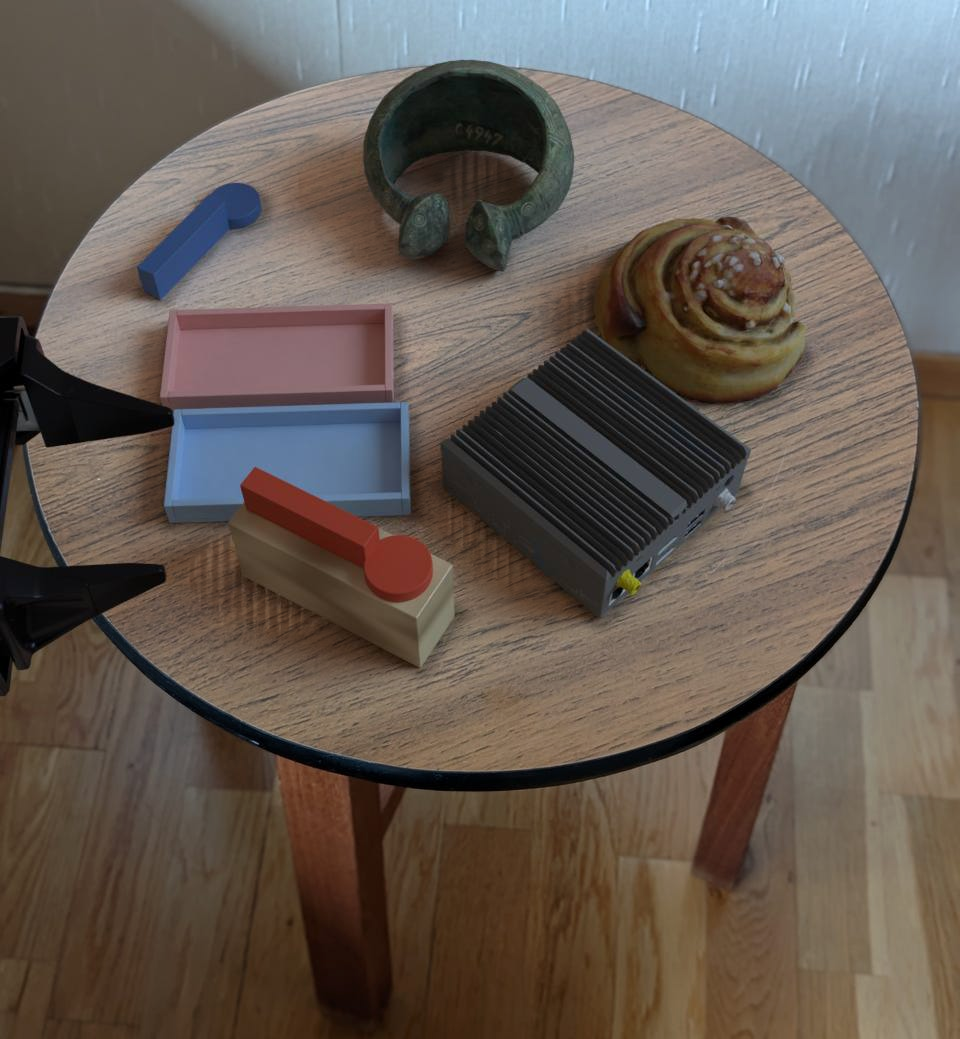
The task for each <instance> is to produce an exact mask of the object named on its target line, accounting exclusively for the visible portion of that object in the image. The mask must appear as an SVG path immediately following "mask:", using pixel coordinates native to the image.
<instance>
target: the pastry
mask: <svg viewBox="0 0 960 1039" xmlns="http://www.w3.org/2000/svg"><path fill="white" fill-rule="evenodd" d="M785 258H786V257H784V256H783V255H781V254H780V253H778V252H775V250H774V249H773V248H772V247H771V245H770V244H769V243H768V242H767V241H765V240H764V239H763V238H761V237H760V236H759V235H758V234H756V232H755V231H754V230H753V229H752V227H751V226H750V225H749V224H748V222H747V220H744V219H742V218H739V217H735V216H721V217H719V218H718V219H716V220H715V221H714V220H711V219H707V218H676V219H673V220H668V221H665V222H662V223H659V224H656V225H653V226H650V227H648V228H646V229H643V230H641V231H640V232H638V233H637V234H636V235H635V236H634V237H633V238H631V240H629V241H628V242H627V243H626V244H624V245H623V246H621V247H620V248H619V249H618V250H617V251H616V253H614V255H612V257H611V258H609V260H608V261H607V263H606V265H605V266H604V268H603V270H602V272H601V273H600V275H599V277H598V280H597V283H596V285H595V288H594V292H593V301H592V302H593V303H592V304H593V314H594V317H595V321H596V325H597V328H598V331H599V333H600V336H601V337H600V338H601V339H602V340H604V341H605V342H606V343H608V344H609V345H610V346H612V347H613V348H614V349H616V350H617V351H618V352H620V353H621V354H623V355H624V356H625V357H627V358H628V359H629V360H631V361H632V362H636V363H639V364H641V365H642V366H643V367H644V368H645V369H646V370H647V371H649V372H650V374H651V375H652V377H654V378H655V379H656V380H658V381H659V382H661V383H662V384H663V385H665V386H666V387H667V388H669V389H670V390H671V391H673V392H674V393H676V394H677V395H679V396H683V397H686V398H688V399H693V400H697V401H700V402H707V403H721V404H724V403H734V402H742V401H743V402H744V401H752V400H756V399H758V398H761V397H763V396H767V395H768V394H770V393H773V391H775V390H776V389H778V387H779V386H780V385H781V384H782V382H783V381H785V380H786V379H787V378H788V377H789V376H790V375H791V374H792V373H793V371H794V370H795V368H796V366H797V365H798V364H799V363H800V361H801V360H802V357H803V354H804V352H805V349H806V341H805V337H806V333H807V327H806V325H805V324H804V323H803V322H801V321H798V320H797V321H795V322H794V317H795V314H796V296H795V293H794V289H793V286H792V277H791V275H790V273H789V272H788V270H787V267H786V266H785V263H786V259H785Z"/></svg>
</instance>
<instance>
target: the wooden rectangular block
mask: <svg viewBox="0 0 960 1039" xmlns="http://www.w3.org/2000/svg"><path fill="white" fill-rule="evenodd" d="M227 526H228V529H229V533H230V536H231V539H232V543H233V546H234V550H235V553H236V558H237V561H238V564H239V567H240V570H241V574H242V576H243V577H244V578H246V579H247V580H250V581H252V582H254V583H256V584H257V585H259V586H262V587H263V588H265V589H267V590H269V591H271V592H273V593H275V594H276V595H278V596H280V597H282V598H284V599H287V600H288V601H290V602H292V603H294V604H296V605H297V606H300V607H302V608H304V609H305V610H308V611H310V612H312V613H313V614H315V615H317V616H319V617H320V618H323V619H325V620H326V621H329V622H331V623H333V624H335V625H336V626H339V627H340V628H342V629H343V630H345V631H348V632H350V633H352V634H354V635H356V636H358V637H360V638H362V639H364V640H366V641H367V642H369V643H371V644H373V645H374V646H377V647H379V648H380V649H383V650H384V651H386V652H388V653H390V654H392V655H394V656H395V657H398V658H400V659H401V660H404V661H406V662H408V663H410V664H411V665H414V666H415V667H417V668H422V667H423V665H424V664H425V662H426V661H427V659H428V658H429V656H430V655H431V654H432V652H433V650H434V649H435V647H436V645H437V644H438V643H439V641H440V640H441V638H442V637H443V635H444V633H445V632H446V630H447V629H448V627H449V626H450V624H451V623H452V621H453V620H454V619H455V588H454V586H455V584H454V564H452V563H451V562H449V561H446V560H444V559H442V558H440V557H438V556H437V555H434V554H432V553H430V554H431V557H432V562H433V577H432V580H431V583H430V585H429V586H428V588H427V589H426V590H425V591H424V592H423V593H422V594H421V595H420V596H418V597H416V598H415V599H412V600H409V601H406V602H390V601H386V600H383V599H381V598H379V597H378V596H376V595H375V594H374V593H373V592H372V591H371V590H370V589H369V587H368V586H367V584H366V581H365V576H364V569H363V568H361V567H359V566H357V565H355V564H353V563H352V562H350V561H348V560H346V559H344V558H342V557H340V556H338V555H336V554H334V553H332V552H330V551H328V550H326V549H324V548H322V547H320V546H318V545H316V544H314V543H312V542H310V541H308V540H306V539H304V538H302V537H300V536H298V535H296V534H294V533H292V532H290V531H288V530H286V529H284V528H282V527H280V526H278V525H276V524H274V523H272V522H270V521H268V520H266V519H264V518H262V517H260V516H258V515H256V514H254V513H252V512H250V511H248V510H246V506H245V503H243V504H242V505H241V507H240V508H239V509H238V510H237V512H236V513H235V514H234V515H233V516H232V518H231V519H230V520H229V521H227ZM378 529H379V537H380V540H381V539H383V538H385V537H389V536H394V535H393V534H392V533H390V532H387V531H385V530H384V529H381V528H379V527H378Z"/></svg>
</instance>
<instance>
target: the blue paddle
mask: <svg viewBox="0 0 960 1039" xmlns="http://www.w3.org/2000/svg"><path fill="white" fill-rule="evenodd" d="M261 213H262V200H261V196H260V194H259V192H258V191H257V190H256V189H255V188H254V187H253V186H252V185H249V184H247V183H244V182H229V183H225V184H222V185H220V186H218V187H216V188H215V189H213V190H212V192H211V193H210V194H208V195H207V196H206V197H205V198H203V200H202V201H201V202H200V203H199V204H198V205H197V206H196V207H194V208H193V210H192V211H191V212H190V213H189V214H188V215H187V216H186V217H185V218H184V219H183V220H182V221H181V222H180V223H179V224H178V225H177V226H176V227H175V228H174V229H173V230H172V231H171V232H169V234H168V235H167V236H166V237H165V238H164V239H163V240H162V241H161V242H160V243H159V244H157V246H156V247H155V248H154V249H153V250H152V251H150V253H149V254H148V255H147V256H146V257H144V259H143V260H142V261H141V262H140V263H139V264H138V265H137V266H136V271H137V274H138V277H139V280H140V284H141V287H142V290H143V293H145V294H147V295H148V296H151V297H153V298H155V299H157V300H159V301H161V300H163V298H164V297H166V296H167V294H168V293H169V292H170V291H171V290H173V288H174V287H175V286H176V285H177V284H178V283H179V282H180V280H182V279H183V277H185V276H186V275H187V274H188V272H189V271H190V270H192V268H193V267H194V266H195V265H196V264H197V263H198V262H199V261H200V260H201V259H202V258H203V257H204V256H205V255H206V254H207V253H208V252H209V251H210V250H211V249H212V248H213V247H214V246H215V245H216V244H217V243H218V242H219V240H220V239H222V238H223V237H224V236H225V235H226V233H227V232H228V231H230V229H232V230H233V229H234V230H235V229H236V230H237V229H242V228H245V227H248V226H250V225H251V224H252V225H253V223H254V222H256V221H257V220H258V219H259V218H260V215H261Z"/></svg>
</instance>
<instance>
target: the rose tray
mask: <svg viewBox="0 0 960 1039" xmlns="http://www.w3.org/2000/svg"><path fill="white" fill-rule="evenodd" d="M393 311H394V310H393V303H364V304H363V303H360V304H358V303H357V304H330V305H329V304H327V305H297V306H296V305H295V306H294V305H293V306H291V305H290V306H267V307H266V306H262V307H261V306H260V307H257V306H256V307H228V308H196V309H192V308H191V309H170V310H169V313H168V320H167V321H168V323H167V331H166V338H165V339H166V341H165V348H164V357H163V366H162V374H161V376H162V377H161V384H160V391H159V392H160V394H159V399H160V402H161V405H162V406H166V407H169V408H171V409H172V410H173V414H174V410H175V409H181V410H182V409H204V408H236V407H267V406H299V405H330V404H362V403H393V402H395V378H394V377H395V366H394V365H395V357H394V356H395V354H394V352H395V350H394V345H395V343H394V312H393Z"/></svg>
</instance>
